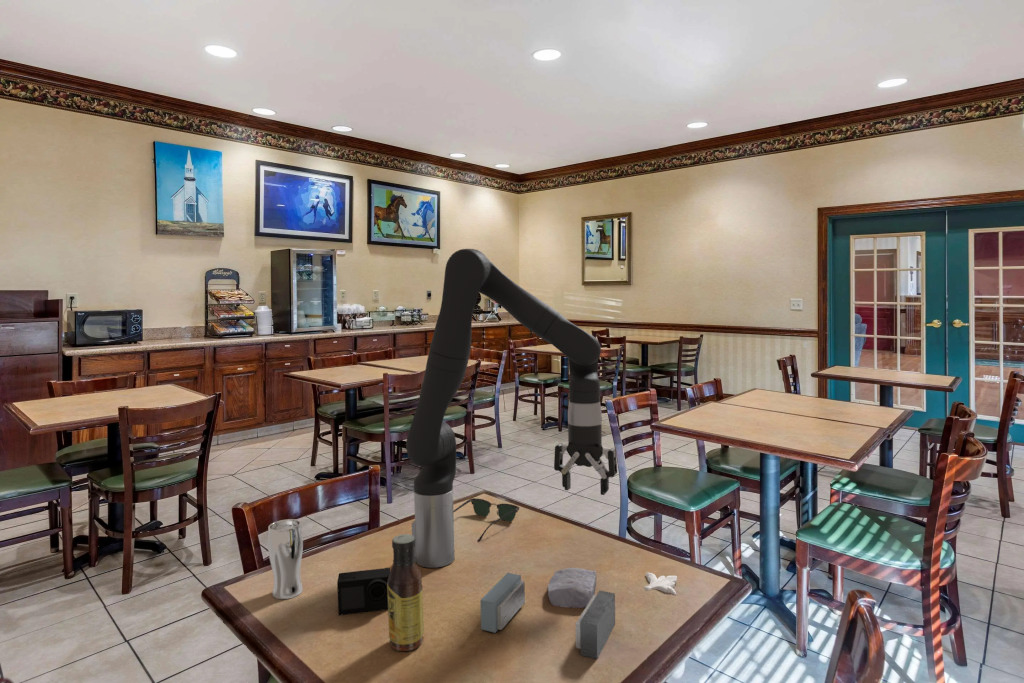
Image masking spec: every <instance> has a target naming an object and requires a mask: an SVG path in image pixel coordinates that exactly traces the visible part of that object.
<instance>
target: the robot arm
mask: <svg viewBox="0 0 1024 683" xmlns="http://www.w3.org/2000/svg"><path fill="white" fill-rule="evenodd" d="M479 294H482V295H483V296H485V297H487V298H489V299H491V300H492V301H493V302H495V303H497V305H499V306H501V307H502V308H503V309H505V311H506V312H507V313H508V314H510V316H512V317H513V318H514V319H515V320H516V321H517V322H518V323H519V324H521V325H522V326H523V327H524V328H526V329H527V330H529V331H530V332H532V333H533V334H534V335H536V336H537V337H539V338H541V339H542V340H543V341H544V342H546V343H548V344H550V345H551V346H553V347H555V348H556V349H557V350H558V351H560V352H561V353H562V354H563V355H565V357H567V359H568V370H569V371H568V372H569V381H568V407H567V408H568V409H567V439H568V440H567V441H568V442H567V444H568V445H567V444H566V445H565V444H563V443H562V442H559V443H558V444H556V445H555V447H554V457H553V458H554V460H553V462H554V463H553V464H554V465H553V469H554V471H558V472H560V473H561V479H562V480H561V481H562V482H561V484H562V488H564V491H569V490H571V483H572V482H571V472H570V471H571V470H572V469H573V467H574V466H575V465H576V466H578V467H588V468H591V467H592V468H594V470H595V471H596V472H597V473H598V474H599V475H600V479H599V481H600V495H601V496H605V495H606V494H607V492H609V489H610V487H609V486H610V484H609V482H610V481H609V479H610V478H614V477H615V476H616V475H617V473H618V463H617V462H618V460H617V450H616V448H614V447H612V448H610V449H609V448H604V447H603V445H602V442H603V441H602V437H603V436H602V426H603V425H602V421H603V417H602V406H601V384H600V379H599V358H600V356H601V353H602V349H601V348H602V347H601V345H600V344H601V343H600V342H599V340H598V339H597V338H596V337H595V336H594V335H592V334H590V333H589V332H587V331H586V330H584V329H582V328H581V327H579V326H578V325H577V324H574V323H573V322H571V321H569V319H567V318H566V317H565V316H564V315H563V314H561V312H558V311H557V310H556V309H554V308H553V307H551V306H550V305H549V304H547V303H545V301H542V300H541V299H539V298H538V297H536V296H535V295H533V294H532V293H530V292H529V291H527V290H526V289H524V288H523V287H521V286H520V285H518V284H517V283H516V282H514V281H513V280H512V279H510V278H509V277H508V276H507V275H506V274H504V273H503V272H502V271H501V270H500V269H499V268H498V267H497V266H496V265H495V264H494V263H493V262H492V261H491V260H490V259H488V257H487V256H486V255H485V254H484V253H483V252H482V251H481V250H478V249H475V248H462V249H459V250H456V251H455V252H454V253H452V254H451V255H450V256H449V258H448V260H447V261H446V264H445V269H444V278H443V288H442V298H441V303H440V304H441V305H440V308H439V309H440V310H439V313H438V317H437V320H436V323H435V328H434V331H433V335H432V339H431V342H430V345H429V346H430V347H429V350H428V356H427V360H426V364H425V365H426V366H425V370H424V375H423V380H422V384H421V388H420V392H419V393H420V394H419V398H418V402H417V405H416V408H415V412H414V415H413V418H412V420H411V424H410V425H409V426H410V427H409V430H408V434H407V436H406V442H405V447H406V454H407V456H408V459H409V460H410V461H411V463H413V464H414V465H416V466H419V467H421V468H420V471H419V473H418V474H417V475H416V477H415V479H414V482H413V496H414V497H413V499H414V501H413V502H414V520H413V521H411V535H413V536H414V537H415V547H414V556H415V563H416V564H417V565H418V566H421V567H423V568H432V569H433V568H434V569H435V568H442V567H446V566H448V565H450V564H452V563H453V562H454V560H455V522H454V520H455V519H454V516H455V515H454V513H453V511H454V487H453V486H454V484H453V483H454V480H455V477H456V473H457V439H456V434H455V432H454V430H453V428H452V427H451V426H450V425H449V424H448V423H447V422H445V421H444V417H445V415H446V412H447V409H448V407H449V405H450V404H451V402H452V400H453V398H454V397H455V395H456V393H457V391H458V390H459V389H460V387H461V385H462V383H463V380H464V378H465V375H466V373H467V368H468V364H469V358H470V356H471V348H472V347H471V346H472V321H473V315H474V310H475V306H476V303H477V300H478V296H479ZM566 452H567V454H568V455H569V456H570V458H569V460H568V461H567V463H565V465H564V462H563V460H564V454H565V453H566ZM603 455H604V457H605V459H606V460H607V463H608V469H607V467H606V466H605V462H604V461H603V460H602V458H601V457H602V456H603Z"/></svg>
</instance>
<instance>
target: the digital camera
mask: <svg viewBox="0 0 1024 683" xmlns="http://www.w3.org/2000/svg"><path fill="white" fill-rule="evenodd" d="M390 572H391V568H390V567H386V568H385V567H384V568H376V569H375V568H374V569H365V570H356V571H348V572H347V571H346V572H339V573H338V576H337V582H336V583H337V584H336V585H337V586H336V588H337V608H338V610H337V612H338V616H346V615H355V614H362V613H363V614H364V613H372V612H380V611H386V610H387V611H388V593H387V580H388V577H389V575H390Z"/></svg>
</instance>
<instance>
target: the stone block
mask: <svg viewBox="0 0 1024 683" xmlns="http://www.w3.org/2000/svg"><path fill="white" fill-rule="evenodd" d="M596 586H597V571H596V570H589V569H585V568H580V567H567V568H561V569H559V570H556V571H554V572H553V576H552V577H551V578H550V579H549V582H548V585H547V587H546V588H547V595H548V598H549V602H550V604H551V605H552V606H556V607H561V608H576V609H577V608H578V609H585V608H586V606H587V605H588V603H589V602H590V600H591V598H592V597H593V595H596V594H595V593H596Z"/></svg>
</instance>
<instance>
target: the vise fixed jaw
mask: <svg viewBox="0 0 1024 683" xmlns="http://www.w3.org/2000/svg"><path fill="white" fill-rule="evenodd" d="M583 609H584V610H583V611H582V612H581V614H580V616H579V617H578V618H577V620H576V622H575V648H576V649H578V650H580V656H582V657H587V658H590V659H591V658H592V659H595V660H598V658H599V656H600V655H601V652H602V651H603V649H604V646H605V645H606V643H607V642H608V639H609V637H610V636H611V634H612V632H613V629H614V628H615V625H616V592H614V593H613V592H610V591H604V590H599V591H598V592H597V594H594V595H593V597H592V598H591V600H590V602H589V603H588V605H587V606H586V608H583Z"/></svg>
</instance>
